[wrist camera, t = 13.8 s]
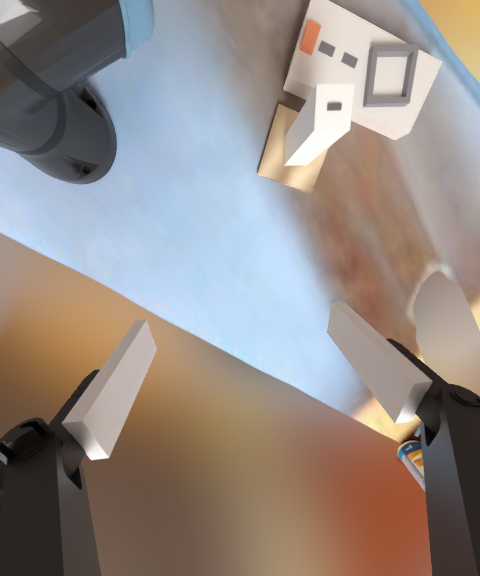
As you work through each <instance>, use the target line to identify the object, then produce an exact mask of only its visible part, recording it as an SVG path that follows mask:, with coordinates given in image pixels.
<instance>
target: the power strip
mask: <svg viewBox="0 0 480 576" xmlns="http://www.w3.org/2000/svg"><path fill="white" fill-rule="evenodd" d="M419 45H420V44H408V43H406V42H405V41H403V40H401V39H399V38H397V37H395V36H393V35H392V34H390V33H388V32H386V31H384V30H382V29H381V28H379V27H377V26H375V25H373V24H371V23H370V22H368V21H366V20H364V19H362V18H360V17H358V16H357V15H355V14H353V13H351V12H349V11H347V10H346V9H344V8H342V7H340V6H338V5H336V4H334V3H333V2H331V1H329V0H310V2H309V5H308V8H307V11H306V14H305V17H304V20H303V23H302V27H301V30H300V33H299V37H298V40H297V43H296V47H295V50H294V53H293V57H292V60H291V63H290V67H289V70H288V74H287V77H286V80H285V84H284V87H283V90H285V91H287V92H289V93H291V94H293V95H296V96H298V97H300V98H302V99H304V100H308V98H309V96H310V95H311V93H312V91H313V90H314V88H315V86H316V85H317V84H354V93H353V103H352V113H351V121H353V122H356V123H358V124H360V125H362V126H364V127H367V128H369V129H371V130H373V131H375V132H378V133H380V134H382V135H384V136H387V137H389V138H391V139H393V140H397V139H399V138H400V137H402V136H404V135H406V134H408V133H410V131H411V128H412V126H413V124H414V122H415V120H416V118H417V116H418V113H419V111H420V109H421V107H422V105H423V103H424V101H425V98H426V96H427V94H428V92H429V90H430V88H431V85H432V83H433V81H434V79H435V77H436V75H437V73H438V70H439V68H440V66H441V64H442V62H441V61H440V60H438V59H436V58H434V57H432V56H430V55H429V54H427V53H425V52H423V51H421V50H419Z"/></svg>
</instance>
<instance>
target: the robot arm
mask: <svg viewBox="0 0 480 576" xmlns="http://www.w3.org/2000/svg"><path fill="white" fill-rule="evenodd" d="M153 25H154V10H153V3H152V0H0V147H3V148H6V149H9V150H12V151H14V152H16V153H17V154H19V155H20V156H21V157H23V158H24V159H26V160H27V161H28V162H30V163H31V164H32V165H34V166H35V167H37V168H38V169H39V170H41V171H42V172H44V173H46V174H48V175H50V176H52V177H54V178H57V179H59V180H63V181H66V182H69V183H74V184H88V183H92V182H95V181H97V180H99V179H101V178H102V177H103V176H104V175H105V174H106V173H107V172H108V171H109V170H110V168H111V166H112V164H113V162H114V159H115V155H116V147H117V143H116V134H115V130H114V126H113V123H112V121H111V119H110V116H109V115H108V113H107V111H106V109H105V108H104V106H103V105H102V104H101V102H100V101H99V100H98V99H97V98H96V97H95V96H94V95H93V94H92V93H91V92H90V91H89V90H88V89H87V88H86V87H85V86H84V85H83V84H82V83H80V82H82V81H84V80H85V79H87V78H89V77H90V76H92V75H94V74H95V73H97V72H98V71H100V70H102V69H103V68H105V67H107V66H108V65H110V64H112V63H113V62H115V61H117V60H118V59H120V58H121V57H122V58H123V59H127V58H128V57H129V56H130V53H131V52H132V51H133V50H135V49H136V48H138V47H139V46H140V45H142V44H143V43H145V42H146V41H147V40H148V39H149V38H150V37H151V35H152V31H153ZM327 333H328V334H329V336H330V337H331V338H332V340H333V341H334V342H335V344H336V345H337V346H338V348H339V349H340V350H341V352H342V353H343V354H344V356H345V357H346V358H347V360H348V361H349V363H350V364H351V365H352V367H353V368H354V369H355V371H356V372H357V373H358V375H359V376H360V377H361V379H362V380H363V381H364V383H365V384H366V385H367V387H368V388H369V389H370V391H371V392H372V393H373V395H374V396H375V397H376V399H377V400H378V401H379V403H380V404H381V405H382V407H383V408H384V409H385V411H386V412H387V413H388V415H389V416H390V417H391V419H392V420H393V421H394V423H395V424H396V423H404V422H411V421H412V419H413V417H414V415H415V414H416V415H417V416H418V417H419V418H420V419H421V420H422V421H421V423H420V425H419V426H418V428H417V430H416V432H415V435H414V436H416V437H418V436H419V434H420V433H421V444H422V456H423V468H424V480H425V492H426V504H427V516H428V528H429V540H430V552H431V564H432V576H480V397H479V396H478V395H476V394H475V393H473V392H472V391H470V390H468V389H466V388H463V387H461V386H458V385H454V384H448V383H447V382H446V381H444V380H443V379H442V378H441V377H440V376H438V375H437V374H436V373H435V372H434V371H432V370H431V369H430V368H429V367H428V366H427V365H425V364H424V363H423V362H422V361H421V360H419V359H417V357H416V356H415V355H413V354H412V353H410V351H409V350H408V349H406V348H405V347H404V346H403V345H402V344H400V343H398V342H396V341H394V340H392V339H385V338H384V337H383V336H381V335H380V334H379V333H378V332H377V331H376V330H375V329H374V328H372V327H371V326H370V325H369V324H368V323H367V322H366V321H365V320H363V319H362V318H361V317H360V316H359V315H358V314H357V313H356V312H354V311H353V310H352V309H351V308H350V307H349V306H348V305H347V304H346V303H344V302H343V301H334V302H332V304H331V311H330V317H329V323H328V329H327ZM156 351H157V349H156V346H155V343H154V341H153V337H152V334H151V331H150V328H149V326H148V323H147V320H140V321H135V322H134V324H133V325H132V326H131V328H130V329H129V331H128V332H127V333H126V335H125V336H124V337H123V339H122V340H121V342H120V343H119V345H118V346H117V347H116V349H115V350H114V351H113V353H112V354H111V356H110V357H109V358H108V360H107V361H106V362H105V364H104V365H103V367H102V368H101V369H100V370H94V371H93V372H92V373H90V374H89V375H88V376H87V377H86V378H84V380H83V381H82V382H81V384H80V385H79V386H78V388H77V390H75V391H74V393H73V394H72V395H71V398H69V399H68V400H67V402H66V403H65V404H64V406H63V407H62V408H61V409H60V411H59V412H58V413H57V415H56V416H55V417H54V419H53V420H52V421H51V422H50V424H49V425H47V424H46V422H45V421H44V420H43V419H42V418H33V419H29V420H27V421H24V422H22V423H20V424H19V425H17V426H16V427H14V428H13V429H11V430H10V431H9V432H8V433H6V434H5V435H4V436H3V437H2V438H1V439H0V576H101V571H100V565H99V560H98V553H97V547H96V541H95V535H94V529H93V523H92V517H91V511H90V506H89V499H88V493H87V487H86V481H85V475H84V469H83V466H82V465H81V461H82V459H83V457H84V455H85V454H87V455H88V457H89V458H90V459H91V460H95V459H104V458H109V456H110V454H111V452H112V449H113V447H114V445H115V443H116V441H117V438H118V436H119V434H120V432H121V429H122V427H123V425H124V423H125V420H126V418H127V416H128V414H129V412H130V409H131V407H132V404H133V402H134V400H135V398H136V396H137V394H138V391H139V389H140V387H141V385H142V382H143V380H144V378H145V376H146V373H147V371H148V369H149V366H150V364H151V362H152V360H153V358H154V355H155V353H156Z"/></svg>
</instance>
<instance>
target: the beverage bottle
mask: <svg viewBox="0 0 480 576" xmlns="http://www.w3.org/2000/svg"><path fill="white" fill-rule="evenodd" d="M397 454H398V456H399V458H400V459H401V460H402V461H403V463H404V464H405V465H406V467H407V468H408V469H409V471H410V472H411V473H412V475H413V476H414V477H415V479H416V480H417V481H418V483H419V484H420V485H421V487H422V488H423V489H424V491H425V480H424V468H423V456H422V444H421V443H420V442H418V441H415V440H410V441H407V442H404V443H403V444H401V445H400V447H399V448H398V450H397Z"/></svg>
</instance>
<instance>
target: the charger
mask: <svg viewBox="0 0 480 576" xmlns="http://www.w3.org/2000/svg"><path fill="white" fill-rule="evenodd" d="M353 93H354V84H317V85H316V86H315V88H314V90H313V91H312V93H311V95H310V96H309V98H308V100H307V101H306V103H305V104H304V106H303V108H302V109H301V111H300V113H299V114H298V116H297V118H296V119H295V121H294V123H293V124H292V126H291V128H290V129H289V131H288V132H287V134H286V136H285V137H284V166H293V165H308V164H309V163H310V162H311V161H313V160H314V159H315V158H316V157H317V156H319V155H320V154H321V153H322V152H323V151H325V150H326V149H327V148H328V147H330V146H331V145H332V144H333V143H334V142H336V141H337V140H338V139H339V138H340V137H342V136H343V135H344V134H345V133H346V132H348V131H349V130H350V123H351V113H352V103H353Z"/></svg>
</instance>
